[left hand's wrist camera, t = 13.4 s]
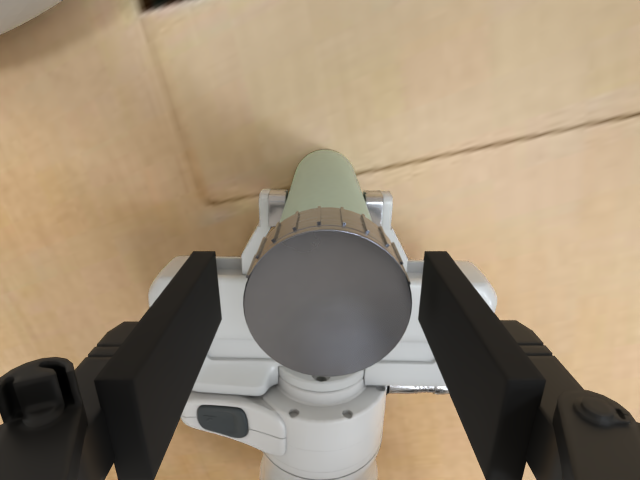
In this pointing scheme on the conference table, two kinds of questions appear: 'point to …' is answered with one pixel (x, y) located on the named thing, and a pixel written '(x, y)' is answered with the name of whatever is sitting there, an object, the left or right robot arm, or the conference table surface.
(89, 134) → the conference table surface
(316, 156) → the green bottle
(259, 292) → the lid
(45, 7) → the projector
